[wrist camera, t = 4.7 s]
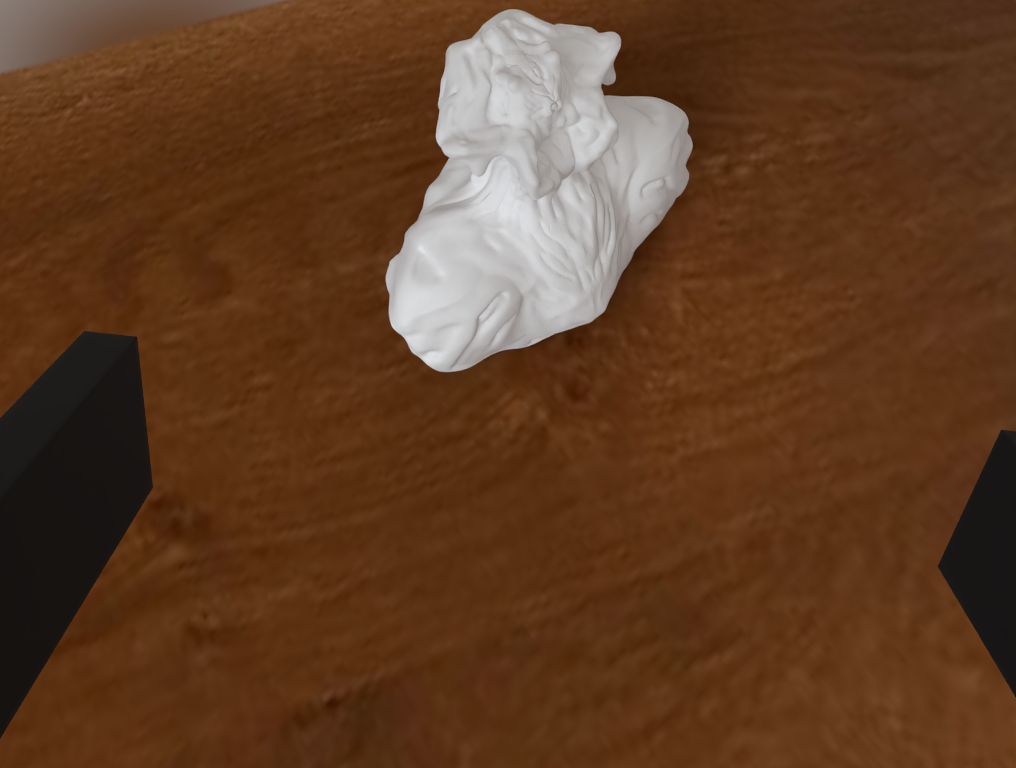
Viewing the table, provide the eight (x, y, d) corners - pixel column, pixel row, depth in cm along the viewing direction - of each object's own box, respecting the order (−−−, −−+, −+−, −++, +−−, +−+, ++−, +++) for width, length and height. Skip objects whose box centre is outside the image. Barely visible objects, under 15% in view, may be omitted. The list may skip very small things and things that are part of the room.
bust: (632, 190, 36) (547, -101, 28) (776, 255, 30) (720, -84, 23) (392, 369, 33) (227, 101, 25) (502, 475, 28) (334, 175, 20)
